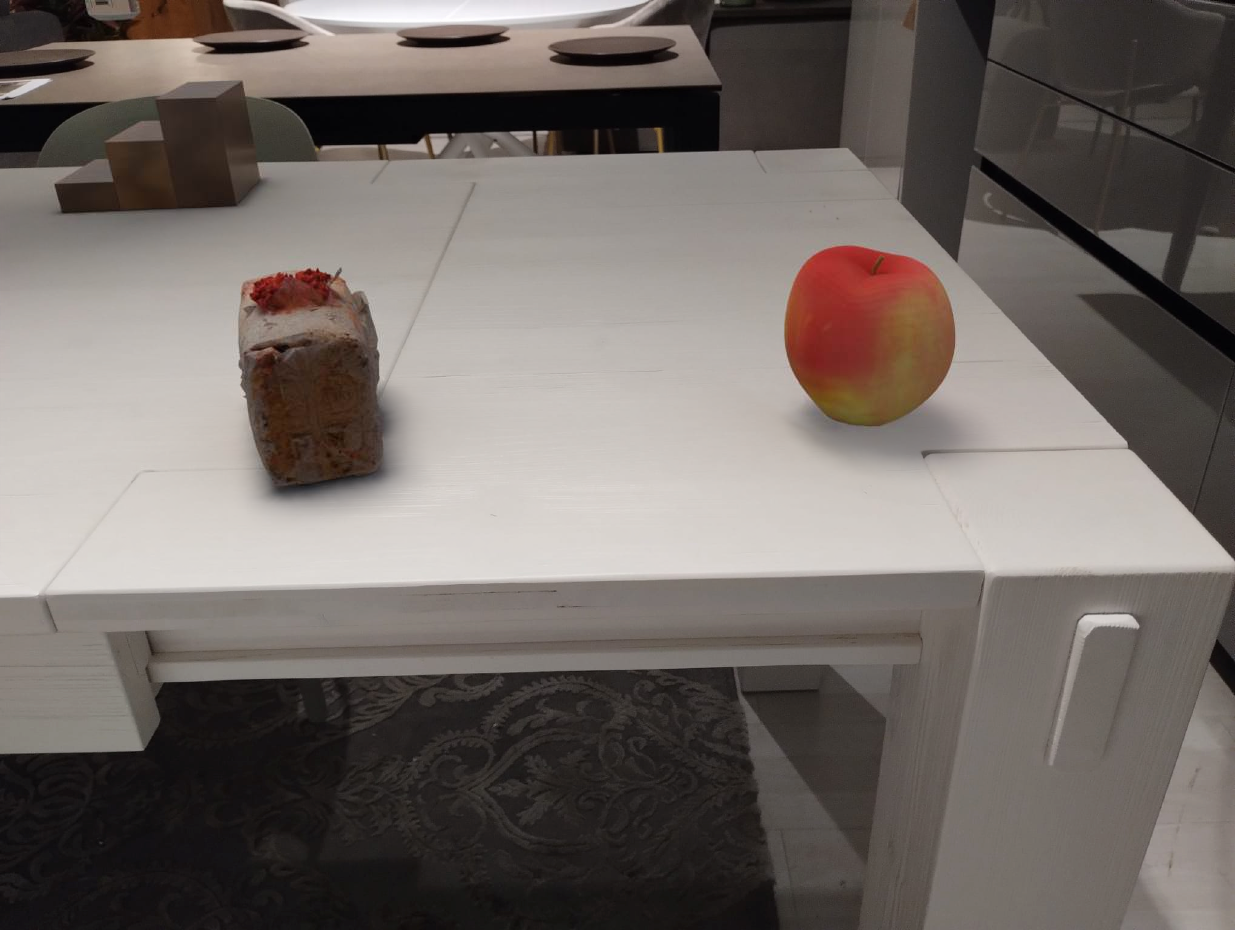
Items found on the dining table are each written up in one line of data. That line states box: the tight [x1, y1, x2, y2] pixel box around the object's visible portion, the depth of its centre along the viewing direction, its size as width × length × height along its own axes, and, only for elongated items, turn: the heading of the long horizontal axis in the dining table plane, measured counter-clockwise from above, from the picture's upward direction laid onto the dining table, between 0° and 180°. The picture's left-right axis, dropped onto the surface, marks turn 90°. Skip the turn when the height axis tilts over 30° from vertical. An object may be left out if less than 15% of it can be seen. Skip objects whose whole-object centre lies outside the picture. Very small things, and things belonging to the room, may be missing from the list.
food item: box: [237, 267, 384, 487], centre depth 58 cm, size 14×8×10 cm, turn 20°
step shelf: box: [53, 79, 261, 213], centre depth 110 cm, size 18×12×11 cm, turn 95°
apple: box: [783, 244, 956, 428], centre depth 59 cm, size 10×10×10 cm
